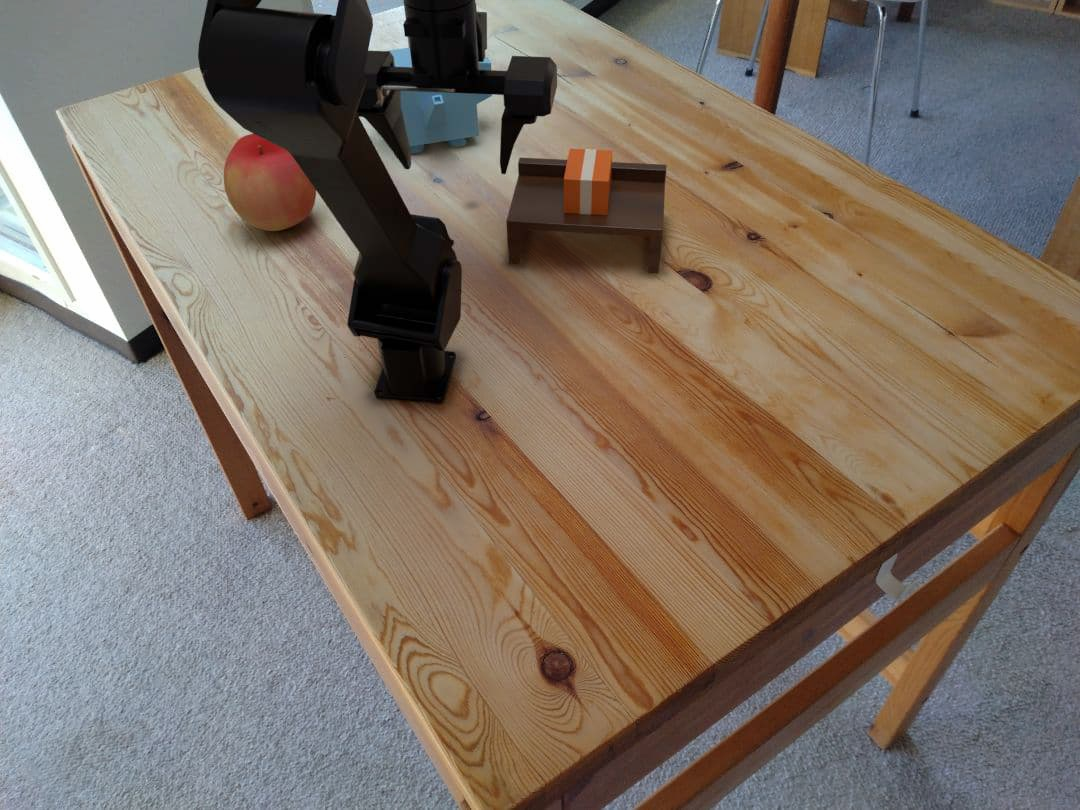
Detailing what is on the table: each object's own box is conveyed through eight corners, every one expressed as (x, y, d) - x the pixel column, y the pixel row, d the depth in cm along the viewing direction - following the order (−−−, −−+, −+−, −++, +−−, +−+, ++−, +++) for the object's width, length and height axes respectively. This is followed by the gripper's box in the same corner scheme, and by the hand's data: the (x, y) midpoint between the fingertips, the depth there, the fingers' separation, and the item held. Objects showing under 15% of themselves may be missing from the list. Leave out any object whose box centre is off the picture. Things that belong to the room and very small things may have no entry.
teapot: (383, 177, 103) (367, 88, 95) (364, 109, 115) (349, 25, 107) (508, 157, 106) (504, 69, 98) (477, 92, 118) (471, 9, 110)
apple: (239, 207, 99) (213, 128, 92) (320, 194, 101) (302, 116, 94) (239, 254, 93) (212, 174, 86) (327, 240, 94) (307, 160, 87)
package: (607, 215, 87) (608, 181, 84) (563, 213, 88) (563, 178, 85) (610, 183, 91) (612, 149, 88) (569, 181, 92) (569, 148, 89)
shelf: (658, 273, 89) (664, 217, 84) (508, 264, 91) (505, 208, 86) (661, 219, 96) (666, 164, 91) (521, 211, 98) (519, 157, 93)
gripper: (563, -36, 73) (563, 131, 84) (353, -42, 75) (381, 122, 86) (548, 17, 66) (550, 192, 77) (315, 9, 67) (351, 182, 79)
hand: (456, 169), depth 80 cm, fingers open, 9 cm apart
